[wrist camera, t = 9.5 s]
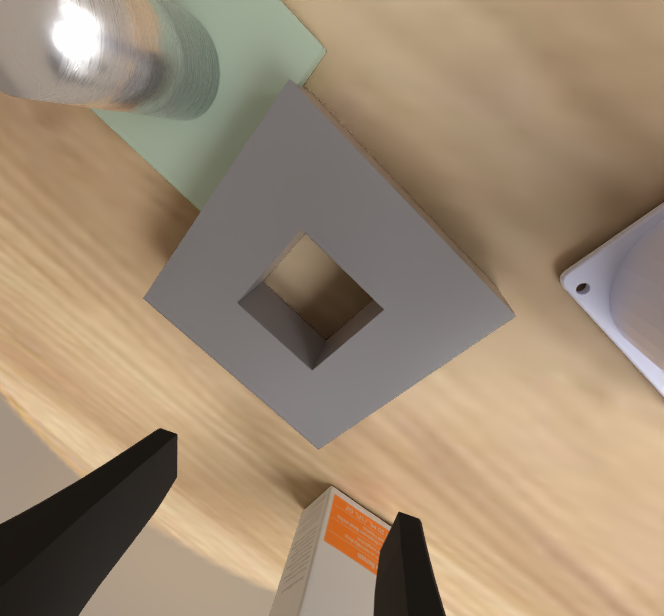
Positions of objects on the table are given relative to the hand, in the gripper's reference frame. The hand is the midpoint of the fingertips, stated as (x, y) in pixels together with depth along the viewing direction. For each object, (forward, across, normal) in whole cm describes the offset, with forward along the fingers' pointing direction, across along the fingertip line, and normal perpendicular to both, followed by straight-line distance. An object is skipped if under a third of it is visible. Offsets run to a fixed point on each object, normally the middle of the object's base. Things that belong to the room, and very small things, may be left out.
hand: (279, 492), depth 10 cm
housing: (+9, +2, -3) cm, 10 cm away
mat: (+9, +10, -11) cm, 18 cm away
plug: (+9, +10, -11) cm, 17 cm away
